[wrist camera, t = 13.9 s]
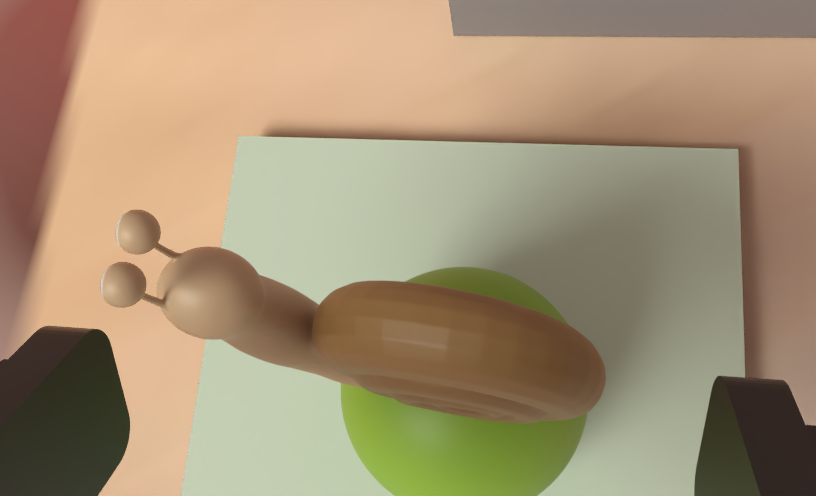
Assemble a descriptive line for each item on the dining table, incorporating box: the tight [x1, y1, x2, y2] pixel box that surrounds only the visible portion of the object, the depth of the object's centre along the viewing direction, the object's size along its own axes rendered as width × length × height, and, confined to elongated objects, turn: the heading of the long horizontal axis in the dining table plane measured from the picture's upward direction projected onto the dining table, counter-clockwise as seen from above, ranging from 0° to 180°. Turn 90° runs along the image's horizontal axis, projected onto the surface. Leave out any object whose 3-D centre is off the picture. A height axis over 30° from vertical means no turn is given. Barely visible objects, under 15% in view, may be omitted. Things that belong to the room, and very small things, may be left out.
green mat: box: [181, 136, 745, 496], centre depth 20 cm, size 14×14×1 cm
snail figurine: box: [100, 210, 606, 496], centre depth 14 cm, size 5×6×12 cm
